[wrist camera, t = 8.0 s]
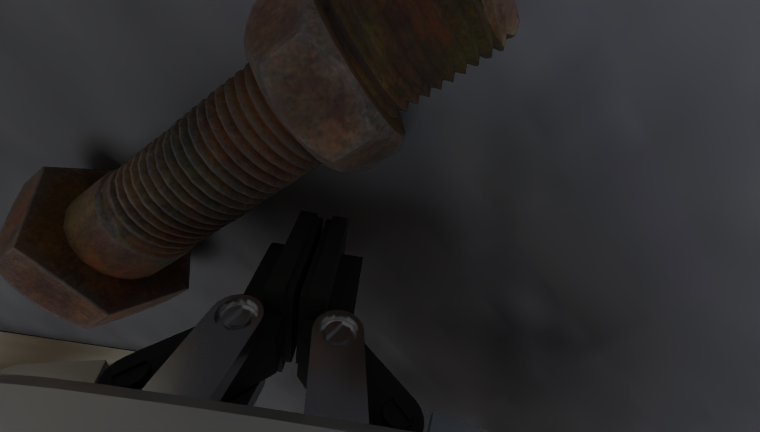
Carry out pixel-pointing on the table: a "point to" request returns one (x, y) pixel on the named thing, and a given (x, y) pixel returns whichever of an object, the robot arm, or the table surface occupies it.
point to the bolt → (240, 147)
